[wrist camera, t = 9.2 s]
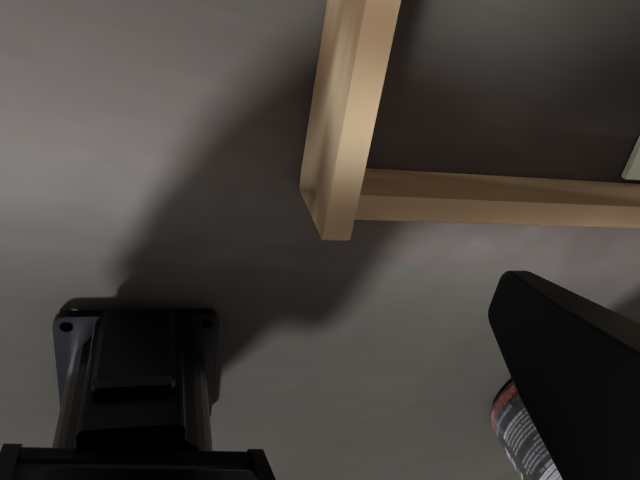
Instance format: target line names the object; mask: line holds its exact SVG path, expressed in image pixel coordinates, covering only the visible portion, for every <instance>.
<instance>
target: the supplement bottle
mask: <svg viewBox="0 0 640 480" xmlns="http://www.w3.org/2000/svg"><path fill="white" fill-rule="evenodd" d="M490 422H491V427H492V429H493V431H494V433H495V435H496V437H497V439H498V441H499V442H500V444H501V446H502V447H503V449H504V451H505V453H506V454H507V456H508V457H509V459H510V461H511V462H512V464H513V466H514V467H515V469H516V471H517V472H518V474H519V475H520V477H521V479H522V480H562V478H561V476H560V474H559V472H558V470H557V468H556V466H555V464H554V462H553V460H552V458H551V457H550V455H549V453H548V451H547V449H546V447H545V445H544V443H543V441H542V439H541V437H540V435H539V434H538V432H537V430H536V428H535V426H534V424H533V422H532V420H531V418H530V416H529V414H528V412H527V411H526V409H525V407H524V405H523V403H522V401H521V398H520V396H519V394H518V392H517V390H516V387H515V385H514V383H513V382H512V383H510V384H509V385H508V386H507V387H506V388H505V389H504V390H503V391H502V392H501V393H500V394H499V396H498V398H497V399H496V401H495V402H494V404H493V405H492V409H491V414H490Z"/></svg>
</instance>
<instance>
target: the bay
mask: <svg viewBox="0 0 640 480" xmlns="http://www.w3.org/2000/svg"><path fill="white" fill-rule="evenodd" d="M400 3H401V0H327V4H326V11H325V17H324V24H323V31H322V37H321V44H320V50H319V57H318V63H317V70H316V77H315V83H314V90H313V96H312V103H311V110H310V116H309V123H308V129H307V136H306V143H305V149H304V156H303V162H302V169H301V175H300V182H299V190H300V192H301V194H302V197H303V199H304V201H305V203H306V206H307V208H308V210H309V212H310V214H311V217H312V219H313V221H314V223H315V226H316V228H317V230H318V232H319V234H320V237H321V239H322V240H350V239H351V234H352V229H353V225H354V220H383V221H417V222H451V223H485V224H519V225H553V226H587V227H621V228H640V184H635V183H617V182H600V181H582V180H564V179H547V178H529V177H511V176H494V175H476V174H458V173H441V172H423V171H405V170H388V169H370V168H366V163H367V159H368V154H369V149H370V145H371V140H372V135H373V130H374V126H375V121H376V116H377V112H378V107H379V102H380V97H381V93H382V88H383V83H384V79H385V74H386V69H387V65H388V60H389V55H390V50H391V46H392V41H393V36H394V32H395V27H396V22H397V17H398V13H399V8H400Z"/></svg>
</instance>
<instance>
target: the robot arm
mask: <svg viewBox="0 0 640 480" xmlns="http://www.w3.org/2000/svg"><path fill="white" fill-rule="evenodd" d="M488 318H489V322H490V325H491V328H492V330H493V333H494V335H495V338H496V340H497V343H498V345H499V348H500V350H501V353H502V355H503V358H504V360H505V363H506V365H507V368H508V370H509V373H510V375H511V378H512V380H513V383H514V385H515V387H516V390H517V392H518V394H519V396H520V398H521V401H522V403H523V405H524V407H525V409H526V411H527V412H528V414H529V416H530V418H531V420H532V422H533V424H534V426H535V428H536V430H537V432H538V434H539V435H540V437H541V439H542V441H543V443H544V445H545V447H546V449H547V451H548V453H549V455H550V457H551V458H552V460H553V462H554V464H555V466H556V468H557V470H558V472H559V474H560V476H561V478H562V480H640V324H639V323H636V322H634V321H632V320H630V319H628V318H626V317H624V316H622V315H620V314H617V313H615V312H613V311H611V310H609V309H607V308H605V307H603V306H601V305H599V304H596V303H594V302H592V301H590V300H588V299H586V298H584V297H582V296H580V295H578V294H575V293H573V292H571V291H569V290H567V289H565V288H563V287H561V286H559V285H556V284H554V283H552V282H550V281H548V280H546V279H544V278H542V277H540V276H538V275H535V274H533V273H531V272H529V271H507V272H505V273H504V274H503V275H502V276H501V278H500V280H499V283H498V285H497V288H496V291H495V293H494V296H493V299H492V301H491V304H490V306H489V311H488ZM205 319H210V320H211V321H210V322H207V323H205V322H202V321H203V320H205ZM63 322H69V323H71V324H72V325H70V326H66V325H64V324H62V323H63ZM218 327H219V321H218V314H217V313H216V312H215V311H214V310H212V309H144V310H92V311H63V312H60V313H58V314H57V315H56V316H55V319H54V322H53V337H54V347H55V357H56V367H57V377H58V387H59V397H60V407H61V408H60V412H59V417H58V422H57V427H56V432H55V437H54V442H53V446H52V448H40V447H22V444H3V447H2V449H1V452H0V480H276V479H275V477H274V475H273V472H272V470H271V467H270V465H269V463H268V460H267V458H266V456H265V453H264V451H263V449H248V450H247V452H239V451H213V450H212V438H211V426H210V416H211V408H212V397H213V385H214V373H215V362H216V350H217V338H218Z"/></svg>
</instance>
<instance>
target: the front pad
mask: <svg viewBox="0 0 640 480" xmlns="http://www.w3.org/2000/svg"><path fill="white" fill-rule="evenodd" d="M621 177H622V178H624V179H628V180H640V136H639V138H638V140H637V142H636V144H635V147H634V149H633V151H632V153H631V155H630V158H629V160H628V162H627V164H626V166H625V168H624V171H623V173H622V175H621Z"/></svg>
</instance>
